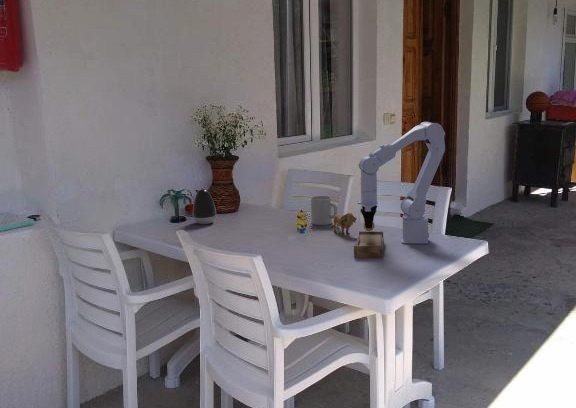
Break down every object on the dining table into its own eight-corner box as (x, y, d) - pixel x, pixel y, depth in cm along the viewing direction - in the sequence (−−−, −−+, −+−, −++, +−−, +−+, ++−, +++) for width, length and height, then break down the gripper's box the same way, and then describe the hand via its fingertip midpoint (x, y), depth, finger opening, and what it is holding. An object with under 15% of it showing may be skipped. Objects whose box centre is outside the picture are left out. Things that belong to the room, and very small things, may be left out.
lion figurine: (358, 235, 231) (358, 212, 229) (348, 237, 228) (347, 214, 226) (335, 228, 243) (335, 206, 241) (325, 230, 240) (324, 208, 238)
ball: (374, 229, 218) (374, 219, 217) (374, 232, 214) (374, 221, 213) (363, 229, 219) (363, 218, 218) (363, 232, 215) (363, 221, 214)
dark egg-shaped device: (207, 219, 268) (205, 186, 265) (221, 222, 260) (219, 188, 257) (188, 223, 261) (186, 189, 258) (202, 227, 254) (199, 192, 250)
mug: (307, 224, 252) (306, 198, 249) (318, 219, 258) (318, 195, 256) (331, 227, 245) (330, 201, 242) (342, 222, 251) (341, 197, 249)
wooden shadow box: (384, 242, 219) (384, 231, 218) (382, 257, 201) (382, 245, 200) (358, 242, 221) (358, 231, 220) (354, 257, 203) (353, 245, 202)
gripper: (359, 186, 221) (359, 221, 224) (356, 193, 207) (356, 231, 210) (378, 186, 220) (378, 222, 223) (376, 193, 206) (376, 231, 209)
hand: (369, 226), depth 216 cm, fingers closed on ball, 4 cm apart
